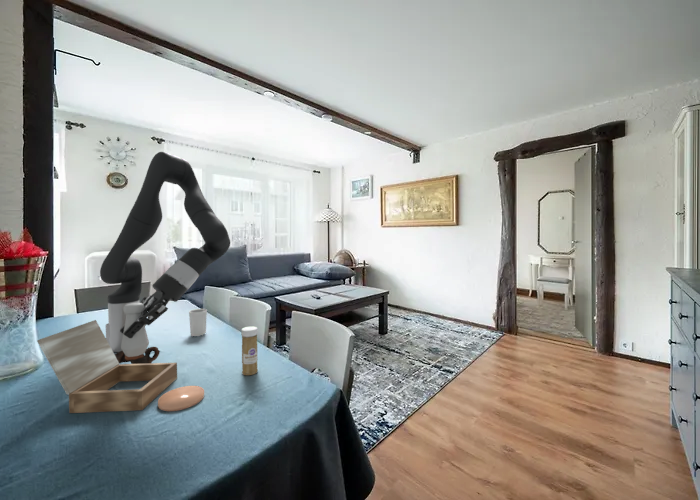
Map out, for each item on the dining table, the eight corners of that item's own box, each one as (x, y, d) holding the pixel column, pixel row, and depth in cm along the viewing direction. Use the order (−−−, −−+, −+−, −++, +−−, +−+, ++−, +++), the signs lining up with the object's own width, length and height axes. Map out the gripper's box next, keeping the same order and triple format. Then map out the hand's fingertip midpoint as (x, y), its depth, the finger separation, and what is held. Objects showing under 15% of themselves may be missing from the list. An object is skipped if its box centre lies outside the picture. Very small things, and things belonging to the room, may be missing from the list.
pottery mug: (114, 382, 84) (106, 355, 85) (121, 384, 91) (113, 358, 93) (162, 361, 90) (154, 336, 92) (165, 364, 98) (157, 341, 100)
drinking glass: (210, 333, 125) (210, 310, 125) (195, 337, 119) (194, 313, 119) (201, 330, 129) (201, 308, 128) (186, 335, 123) (185, 311, 123)
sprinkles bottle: (248, 377, 85) (247, 331, 85) (238, 373, 88) (238, 328, 87) (261, 371, 89) (260, 327, 89) (251, 367, 92) (251, 324, 91)
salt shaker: (127, 360, 72) (125, 307, 71) (117, 355, 75) (115, 304, 74) (153, 352, 77) (151, 302, 76) (143, 348, 80) (141, 300, 79)
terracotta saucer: (148, 412, 68) (148, 407, 68) (171, 390, 78) (171, 386, 78) (193, 410, 69) (193, 406, 69) (210, 388, 79) (210, 385, 79)
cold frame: (39, 414, 67) (36, 339, 67) (95, 380, 83) (92, 319, 83) (142, 410, 69) (140, 336, 68) (177, 377, 85) (175, 318, 84)
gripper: (157, 270, 85) (104, 321, 76) (175, 274, 76) (118, 332, 67) (178, 286, 89) (130, 336, 81) (197, 291, 80) (146, 349, 71)
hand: (125, 334), depth 74 cm, fingers closed on salt shaker, 3 cm apart
